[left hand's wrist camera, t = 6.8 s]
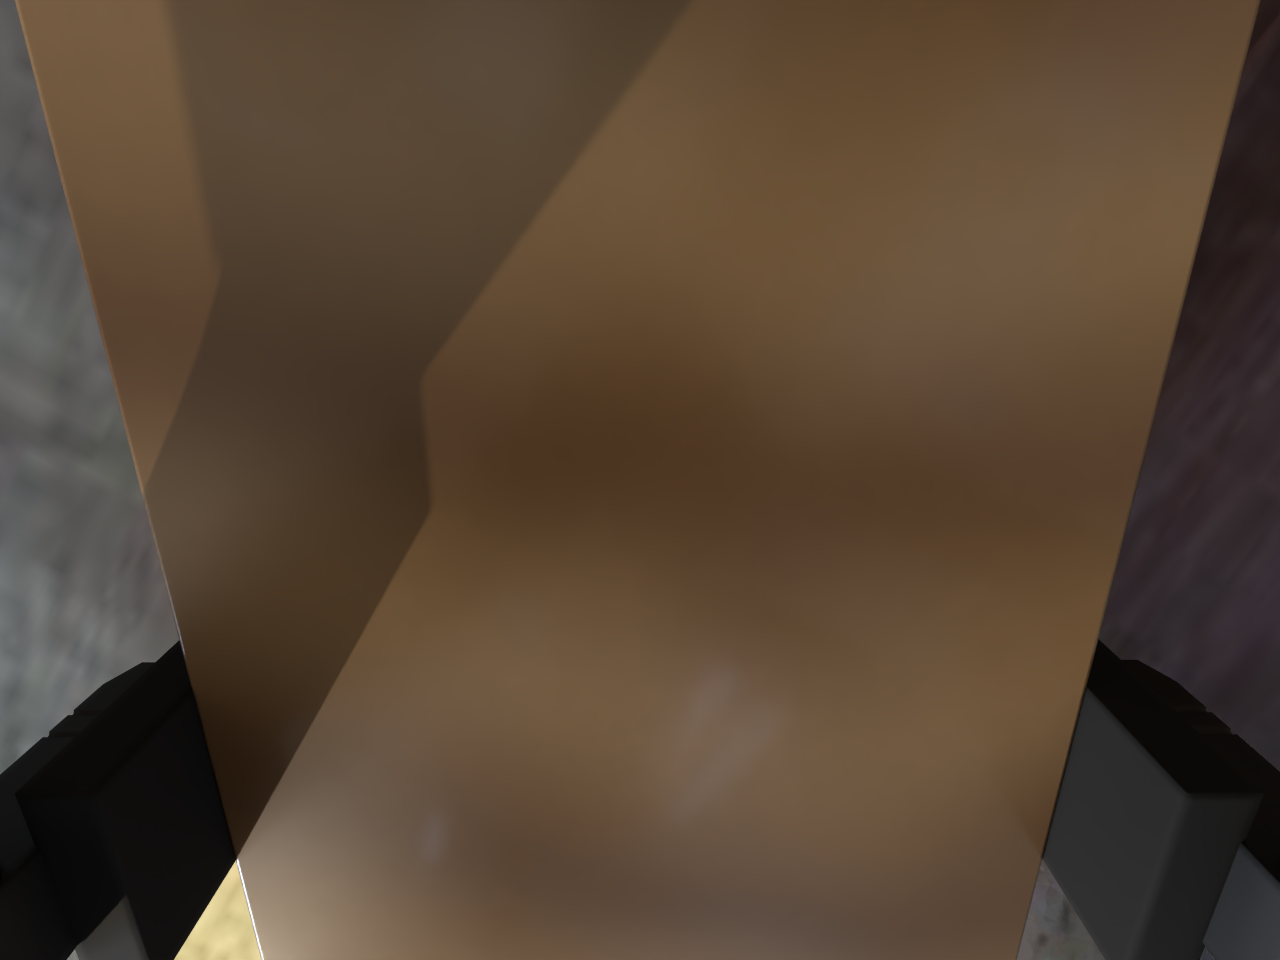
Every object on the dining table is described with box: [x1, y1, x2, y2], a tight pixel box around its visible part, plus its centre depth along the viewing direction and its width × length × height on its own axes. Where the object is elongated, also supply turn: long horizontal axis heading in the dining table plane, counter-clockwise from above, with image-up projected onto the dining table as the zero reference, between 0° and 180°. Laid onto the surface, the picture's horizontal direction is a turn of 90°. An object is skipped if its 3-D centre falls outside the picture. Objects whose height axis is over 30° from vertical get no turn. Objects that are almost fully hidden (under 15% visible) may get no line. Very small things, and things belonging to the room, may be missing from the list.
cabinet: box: [15, 0, 1261, 960], centre depth 13 cm, size 17×11×11 cm, turn 0°
